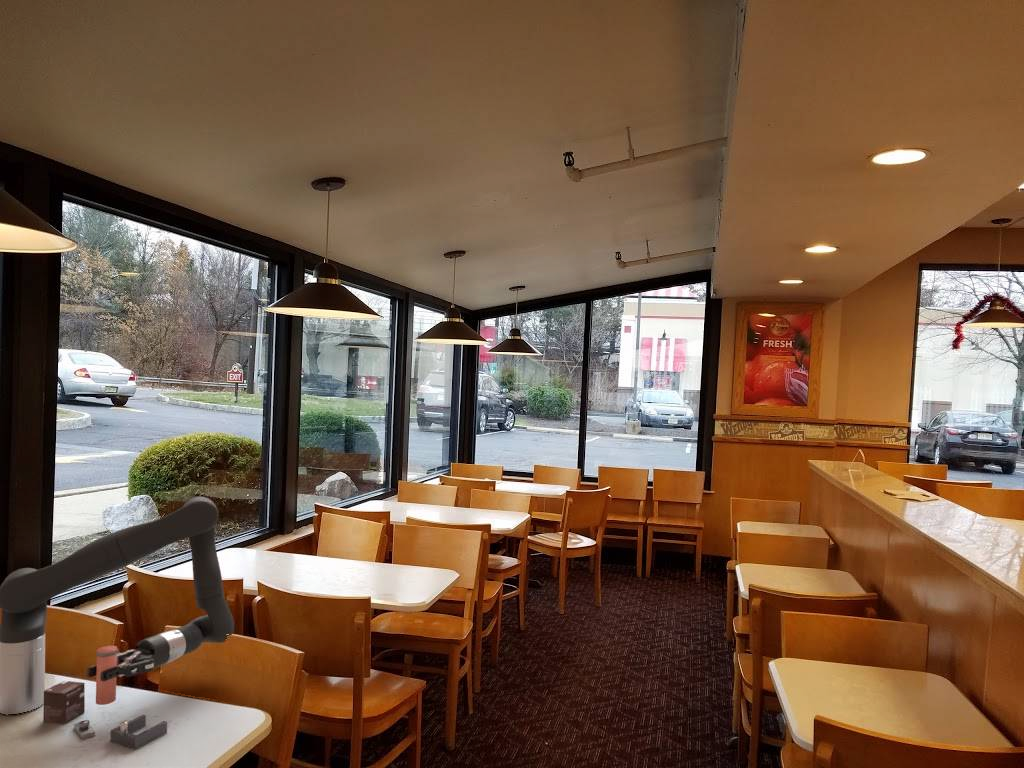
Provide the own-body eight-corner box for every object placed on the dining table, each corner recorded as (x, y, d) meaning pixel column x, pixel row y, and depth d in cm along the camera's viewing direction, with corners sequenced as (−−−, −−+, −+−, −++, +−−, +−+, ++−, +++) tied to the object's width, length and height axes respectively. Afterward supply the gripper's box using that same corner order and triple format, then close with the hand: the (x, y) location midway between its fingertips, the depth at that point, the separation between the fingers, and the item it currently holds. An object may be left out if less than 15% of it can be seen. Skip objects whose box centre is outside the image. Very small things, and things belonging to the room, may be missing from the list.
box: (64, 725, 159) (64, 693, 159) (42, 722, 160) (42, 691, 160) (85, 712, 165) (85, 682, 165) (64, 710, 166) (64, 679, 166)
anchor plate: (73, 728, 158) (73, 718, 158) (86, 724, 160) (86, 714, 160) (82, 739, 153) (82, 729, 153) (94, 735, 155) (95, 725, 155)
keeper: (108, 742, 152) (108, 719, 152) (142, 725, 159) (143, 703, 159) (133, 750, 149) (133, 727, 148) (167, 732, 156) (167, 711, 156)
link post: (92, 700, 159) (94, 648, 159) (113, 694, 162) (114, 644, 162) (98, 706, 156) (99, 654, 156) (118, 701, 159) (120, 649, 159)
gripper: (141, 629, 175) (75, 652, 159) (181, 639, 169) (116, 664, 153) (141, 658, 175) (74, 685, 159) (180, 669, 169) (115, 698, 153)
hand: (95, 674), depth 156 cm, fingers closed on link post, 4 cm apart
